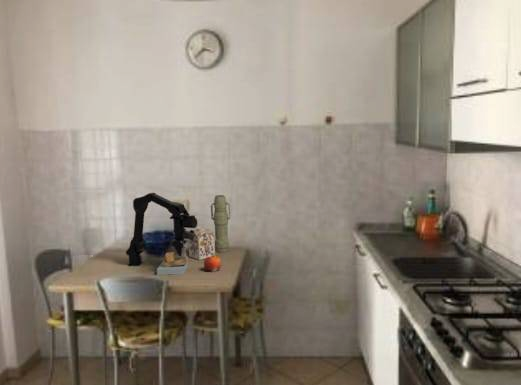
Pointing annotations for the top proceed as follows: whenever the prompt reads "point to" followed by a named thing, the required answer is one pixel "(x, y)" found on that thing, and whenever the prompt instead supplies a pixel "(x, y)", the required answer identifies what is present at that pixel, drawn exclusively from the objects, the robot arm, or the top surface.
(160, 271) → the pale grey flat slab
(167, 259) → the orange cube
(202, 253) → the decorative jar
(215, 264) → the tomato
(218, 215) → the green vase
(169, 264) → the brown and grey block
